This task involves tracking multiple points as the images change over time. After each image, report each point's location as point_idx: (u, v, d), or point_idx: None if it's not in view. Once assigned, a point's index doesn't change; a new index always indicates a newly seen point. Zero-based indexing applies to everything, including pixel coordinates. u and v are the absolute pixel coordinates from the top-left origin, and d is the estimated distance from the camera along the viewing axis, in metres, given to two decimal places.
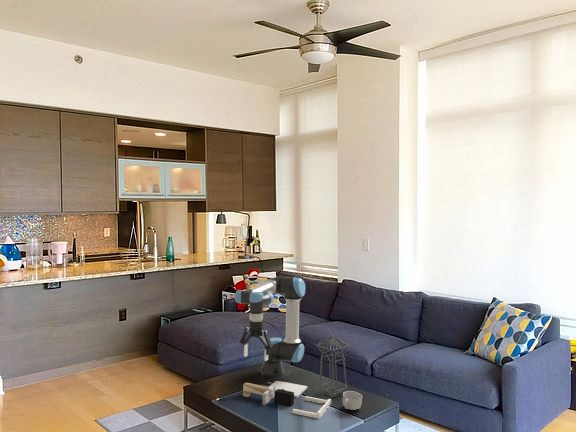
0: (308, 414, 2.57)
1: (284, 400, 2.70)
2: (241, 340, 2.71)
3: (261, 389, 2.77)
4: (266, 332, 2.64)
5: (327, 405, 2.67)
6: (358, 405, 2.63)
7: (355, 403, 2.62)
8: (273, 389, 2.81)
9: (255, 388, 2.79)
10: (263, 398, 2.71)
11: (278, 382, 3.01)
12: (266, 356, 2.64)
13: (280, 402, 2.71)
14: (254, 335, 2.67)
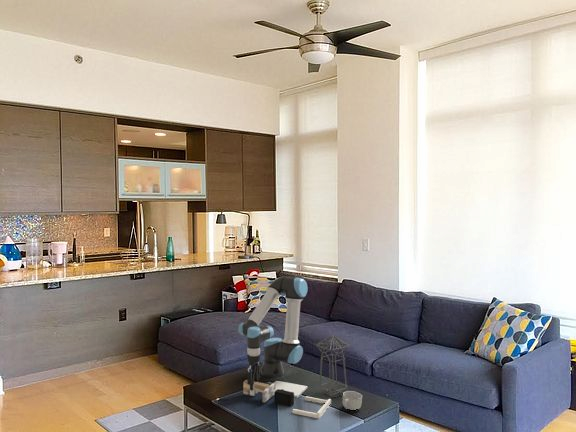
0: (308, 414, 2.57)
1: (284, 400, 2.70)
2: None
3: (261, 386, 2.77)
4: (248, 370, 2.75)
5: (327, 405, 2.67)
6: (358, 405, 2.63)
7: (355, 403, 2.62)
8: (273, 386, 2.81)
9: (255, 385, 2.79)
10: (263, 395, 2.71)
11: (278, 382, 3.01)
12: (251, 391, 2.80)
13: (280, 402, 2.71)
14: None
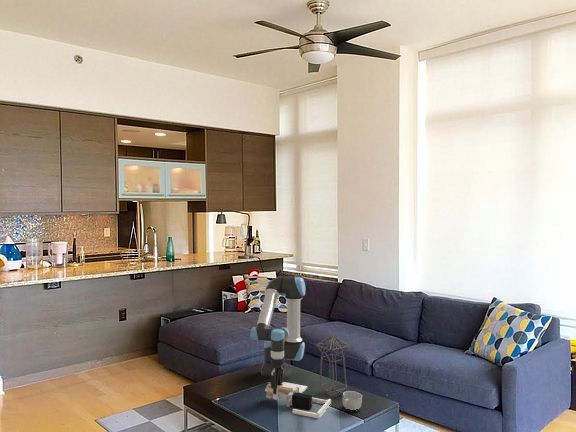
0: (308, 414, 2.57)
1: (302, 404, 2.65)
2: None
3: (285, 390, 2.71)
4: (272, 374, 2.69)
5: (327, 405, 2.67)
6: (358, 405, 2.63)
7: (355, 403, 2.62)
8: (297, 390, 2.75)
9: (279, 389, 2.73)
10: (287, 400, 2.65)
11: None
12: (274, 395, 2.73)
13: (298, 406, 2.66)
14: None
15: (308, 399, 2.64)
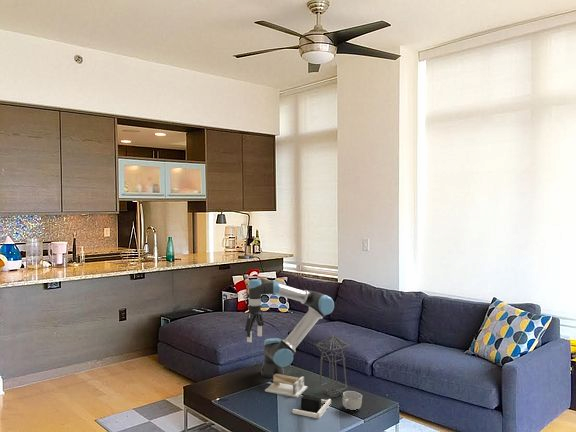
0: (308, 414, 2.57)
1: (312, 407, 2.62)
2: None
3: (291, 379, 2.89)
4: (249, 316, 2.91)
5: (327, 405, 2.67)
6: (358, 405, 2.63)
7: (355, 403, 2.62)
8: (302, 380, 2.93)
9: (285, 379, 2.91)
10: (294, 388, 2.83)
11: None
12: (248, 338, 2.92)
13: (307, 409, 2.63)
14: None
15: (318, 402, 2.61)
